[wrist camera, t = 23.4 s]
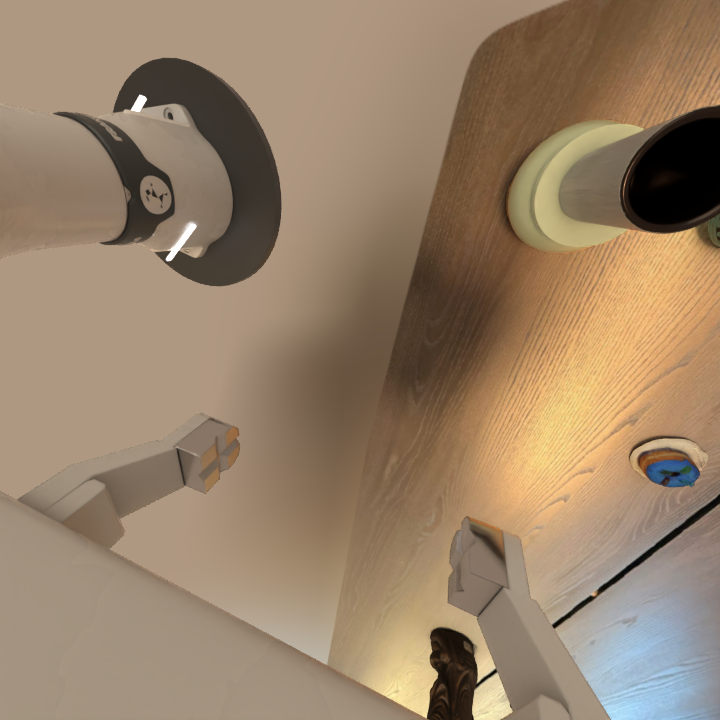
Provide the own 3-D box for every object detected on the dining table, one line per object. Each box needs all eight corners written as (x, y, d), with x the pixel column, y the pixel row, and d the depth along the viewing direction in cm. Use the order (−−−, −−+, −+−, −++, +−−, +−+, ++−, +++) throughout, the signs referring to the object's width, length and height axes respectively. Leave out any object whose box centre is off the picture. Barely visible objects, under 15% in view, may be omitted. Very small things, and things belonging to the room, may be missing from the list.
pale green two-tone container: (486, 235, 35) (495, 248, 24) (524, 128, 29) (555, 90, 19) (578, 254, 33) (628, 277, 23) (635, 144, 28) (734, 110, 18)
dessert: (615, 469, 42) (655, 482, 36) (627, 425, 42) (669, 431, 37) (672, 489, 41) (721, 506, 36) (684, 444, 42) (735, 454, 36)
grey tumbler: (652, 152, 19) (806, 111, 11) (612, 227, 22) (711, 243, 13) (578, 142, 20) (663, 97, 11) (546, 215, 22) (597, 223, 14)
